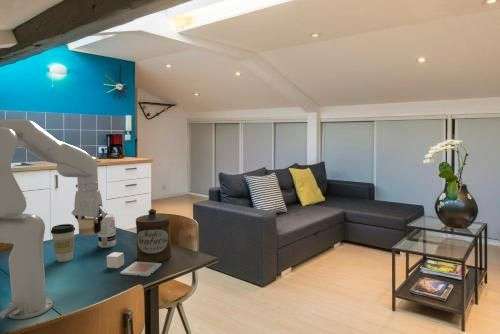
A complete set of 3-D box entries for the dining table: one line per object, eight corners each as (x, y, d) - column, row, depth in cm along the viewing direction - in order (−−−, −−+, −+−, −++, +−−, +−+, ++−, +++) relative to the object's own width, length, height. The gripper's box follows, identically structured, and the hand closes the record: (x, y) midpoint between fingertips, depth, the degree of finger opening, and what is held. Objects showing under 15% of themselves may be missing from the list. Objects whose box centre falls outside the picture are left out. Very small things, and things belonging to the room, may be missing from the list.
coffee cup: (47, 260, 164) (45, 227, 163) (67, 254, 173) (65, 222, 171) (62, 264, 160) (59, 230, 158) (81, 257, 168) (79, 225, 167)
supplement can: (98, 244, 187) (96, 215, 185) (115, 242, 190) (113, 213, 189) (99, 249, 180) (97, 218, 178) (117, 246, 183) (115, 216, 181)
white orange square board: (148, 276, 146) (148, 274, 146) (120, 274, 149) (120, 271, 149) (161, 265, 158) (161, 263, 158) (135, 263, 160) (135, 261, 160)
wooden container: (135, 264, 160) (133, 213, 157) (139, 252, 174) (136, 206, 172) (171, 261, 162) (169, 212, 160) (171, 250, 177) (169, 204, 174)
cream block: (117, 268, 155) (117, 256, 154) (107, 267, 156) (106, 256, 155) (124, 264, 160) (123, 252, 159) (113, 263, 161) (113, 252, 160)
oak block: (92, 235, 147) (91, 220, 146) (78, 234, 148) (78, 219, 147) (101, 231, 153) (100, 216, 152) (88, 230, 154) (87, 216, 153)
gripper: (62, 188, 147) (65, 233, 148) (101, 189, 143) (104, 235, 145) (75, 185, 154) (77, 228, 156) (112, 186, 150) (114, 230, 152)
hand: (90, 231), depth 150 cm, fingers closed on oak block, 6 cm apart
